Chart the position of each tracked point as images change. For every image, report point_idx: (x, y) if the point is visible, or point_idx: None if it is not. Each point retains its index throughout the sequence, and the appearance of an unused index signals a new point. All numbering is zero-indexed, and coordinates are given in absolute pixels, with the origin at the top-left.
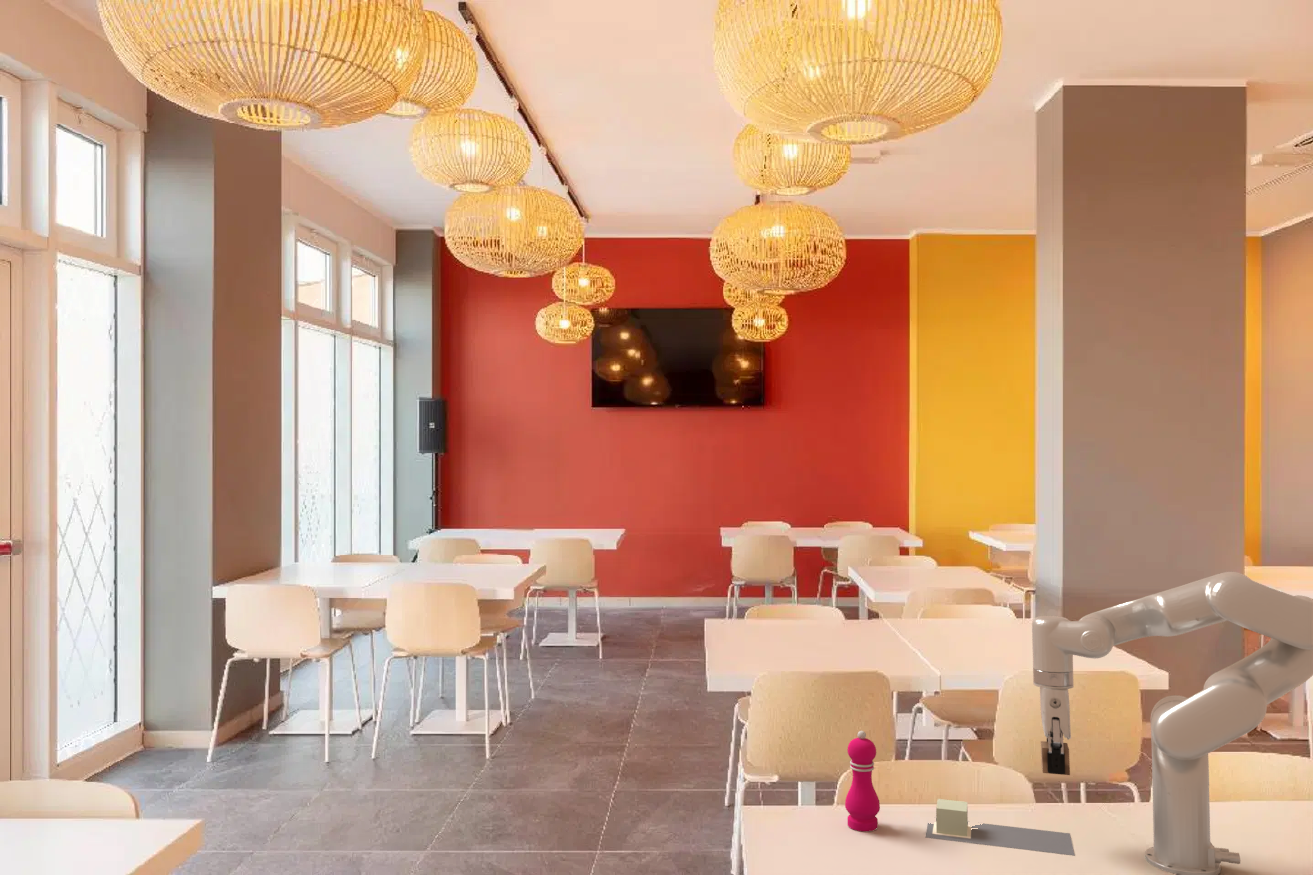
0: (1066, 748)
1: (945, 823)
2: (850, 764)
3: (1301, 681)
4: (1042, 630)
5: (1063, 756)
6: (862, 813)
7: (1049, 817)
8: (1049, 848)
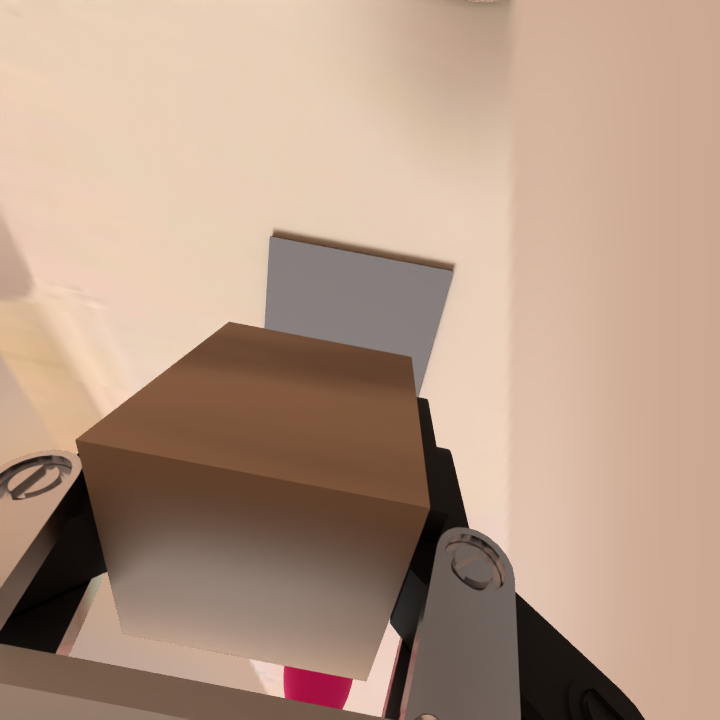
0: (367, 515)
1: None
2: None
3: None
4: None
5: (442, 500)
6: None
7: (133, 260)
8: (405, 329)
